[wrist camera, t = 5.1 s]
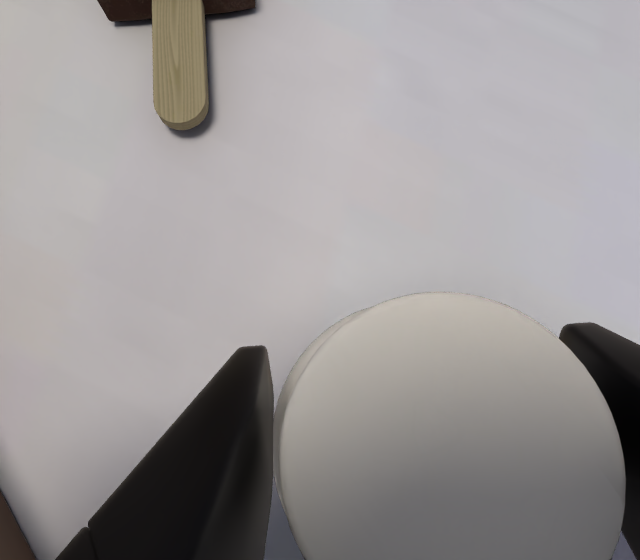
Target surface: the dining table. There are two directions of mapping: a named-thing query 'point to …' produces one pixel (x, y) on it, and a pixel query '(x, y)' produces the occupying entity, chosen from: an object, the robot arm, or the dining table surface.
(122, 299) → the dining table surface
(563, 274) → the dining table surface
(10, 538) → the shelf
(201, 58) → the ice cream bar
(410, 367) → the supplement bottle
